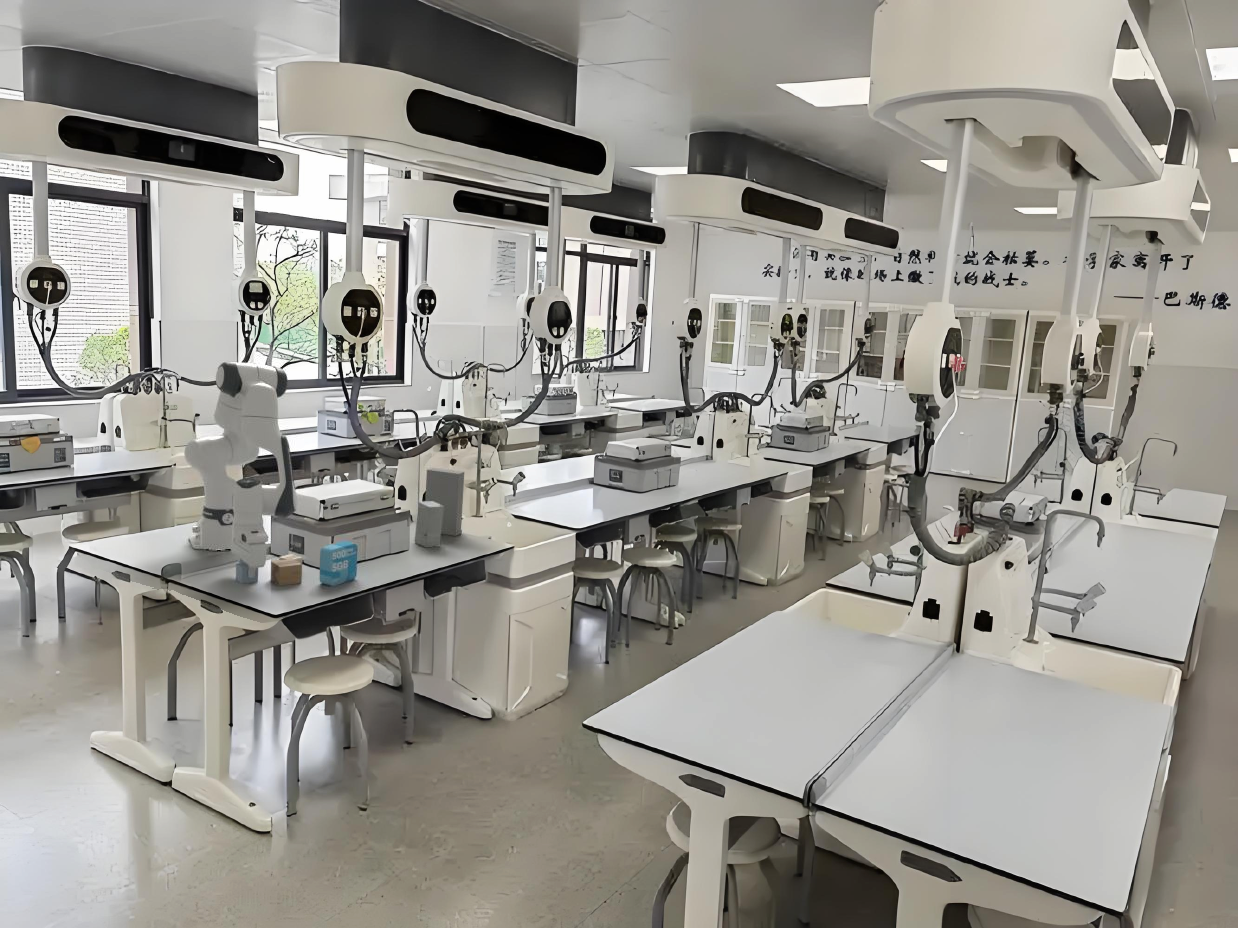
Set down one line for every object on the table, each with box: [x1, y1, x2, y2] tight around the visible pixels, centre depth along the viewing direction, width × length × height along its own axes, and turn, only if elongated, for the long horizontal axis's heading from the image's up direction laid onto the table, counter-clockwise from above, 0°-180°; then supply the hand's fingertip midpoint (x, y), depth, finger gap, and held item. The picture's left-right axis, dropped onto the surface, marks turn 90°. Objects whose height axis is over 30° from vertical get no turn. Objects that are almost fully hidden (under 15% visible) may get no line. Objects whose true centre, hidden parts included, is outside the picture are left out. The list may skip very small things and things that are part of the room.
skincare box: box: [414, 500, 444, 548], centre depth 343 cm, size 8×7×16 cm
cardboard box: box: [270, 559, 303, 587], centre depth 288 cm, size 7×7×6 cm
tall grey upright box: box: [424, 467, 465, 537], centre depth 361 cm, size 14×6×25 cm, turn 77°
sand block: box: [278, 553, 303, 565], centre depth 298 cm, size 5×5×5 cm
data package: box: [318, 541, 358, 587], centre depth 291 cm, size 12×4×12 cm, turn 153°
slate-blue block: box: [235, 562, 259, 584], centre depth 286 cm, size 5×5×5 cm
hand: (247, 574), depth 286 cm, fingers closed on slate-blue block, 5 cm apart
